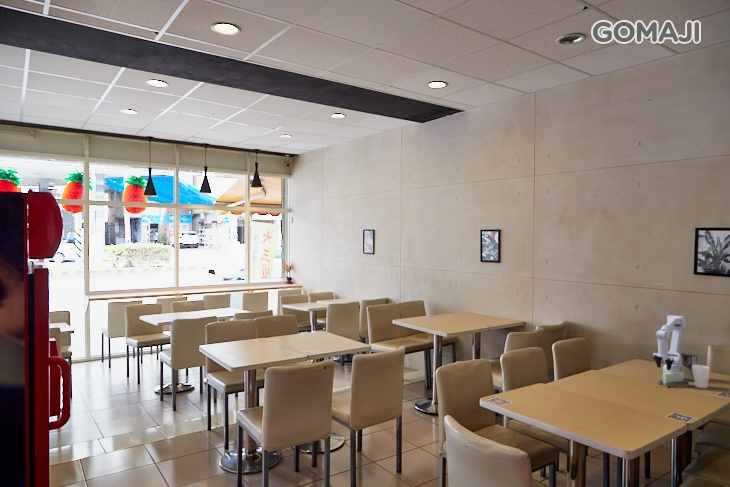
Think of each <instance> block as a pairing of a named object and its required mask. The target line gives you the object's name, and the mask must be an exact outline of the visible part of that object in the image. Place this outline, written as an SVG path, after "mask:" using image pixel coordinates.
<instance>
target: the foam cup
mask: <svg viewBox="0 0 730 487" xmlns="http://www.w3.org/2000/svg"><path fill="white" fill-rule="evenodd" d="M692 370H693V375H694V380H693V381H694V385H695V387H696V388H701V389H707V388H708V386H709V377H710V366H707V365H701V364H697V365H692Z"/></svg>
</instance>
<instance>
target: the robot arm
mask: <svg viewBox="0 0 730 487" xmlns="http://www.w3.org/2000/svg"><path fill="white" fill-rule="evenodd" d="M686 321H687V320H686V318H685V316H684V315H671V314H668V316H666V324H664V325H662V327H661V328H660V329H659V330H657V331H656V332H655V338H656V341H657V351H658V352H653V353H652V355H653V358H652V359H653V360H654V362H655V363H656V364H655V365H656V366H657V368H662V377H661V378H663V374H664V373H673V372H680V369H679V366H681V365H682V356H681V355H680V354H681V353H680V352H679V349H680V342H681V337H682V336H681V335H682V331H683V330H684V329H685V327H686ZM671 333H672V334H671ZM670 334H671V340H670V347H669V343H668V342H669V341H668V340H669V338H670ZM669 348H670V349H669ZM662 359H663V363H664V365H663V366H662Z"/></svg>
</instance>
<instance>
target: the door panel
mask: <svg viewBox="0 0 730 487" xmlns="http://www.w3.org/2000/svg"><path fill="white" fill-rule="evenodd" d="M662 376H663V377H662V381H663V384H664V385H665V383H669V382H678V381H685V380H684V379H685V378H683V372H680V371H679V372H673V373H664V374H663V373H662Z"/></svg>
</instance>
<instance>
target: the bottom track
mask: <svg viewBox="0 0 730 487" xmlns="http://www.w3.org/2000/svg"><path fill="white" fill-rule="evenodd" d="M657 384H658V386H660V385H661V387H663V386H665V387H664V388H666V387H673V388H681V387H689V386H691V383H689V380H684V381H678V382H669V383H665V385H664V384H663V380H657V382H656V385H657Z"/></svg>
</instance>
